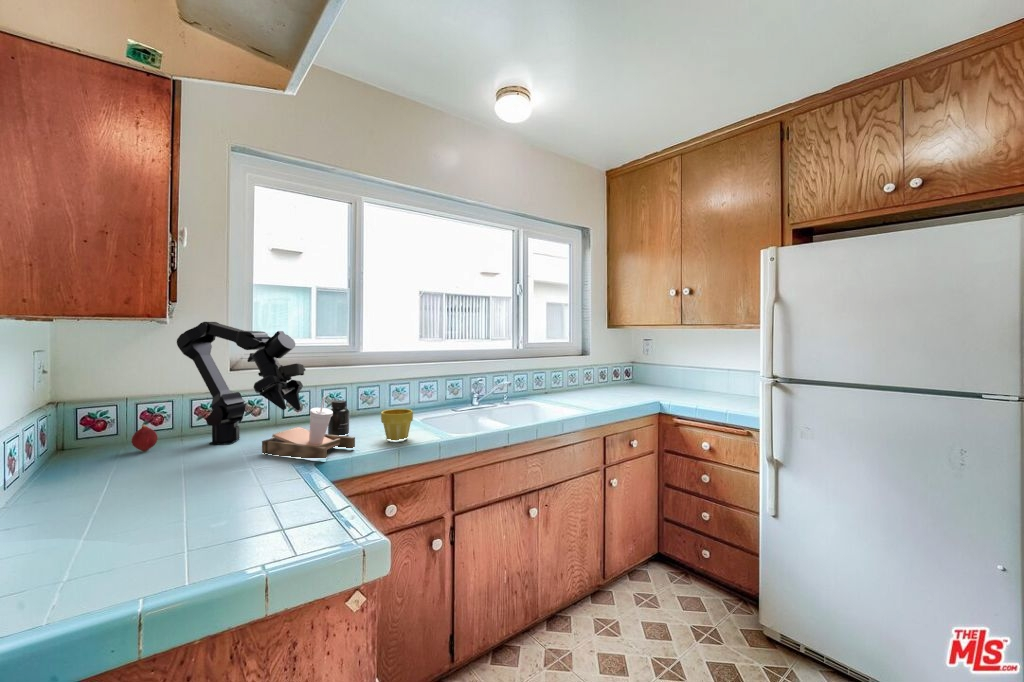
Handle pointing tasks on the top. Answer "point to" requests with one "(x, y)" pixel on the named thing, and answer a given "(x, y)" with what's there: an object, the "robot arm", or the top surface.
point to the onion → (144, 438)
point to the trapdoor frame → (303, 447)
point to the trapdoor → (303, 438)
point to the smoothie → (319, 423)
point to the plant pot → (397, 423)
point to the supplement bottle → (339, 419)
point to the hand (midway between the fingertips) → (292, 409)
